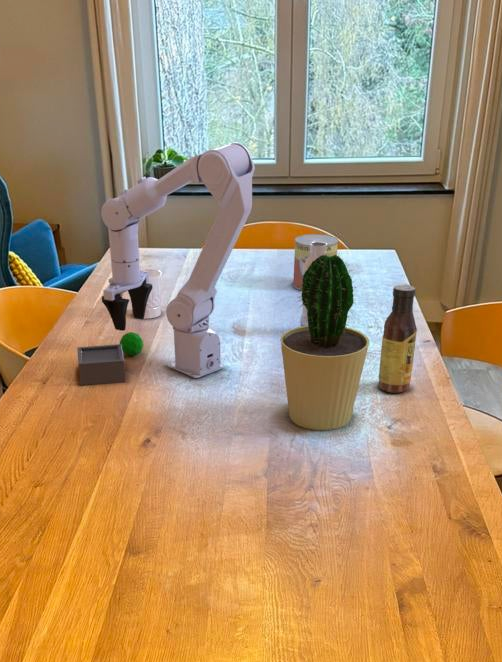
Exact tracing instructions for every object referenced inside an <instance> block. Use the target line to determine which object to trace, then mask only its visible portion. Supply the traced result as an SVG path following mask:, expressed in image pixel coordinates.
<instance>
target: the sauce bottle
mask: <svg viewBox="0 0 502 662" xmlns="http://www.w3.org/2000/svg"><path fill="white" fill-rule="evenodd" d="M416 289H417V288H416V287H415V286H413V285H411V284H409V285H408V284H397V285H395V286H393V288H392V297H393V298H392V306H391V312H390V313H389V315H388V316H387V317H386V319H385V321H384V324H383V335H382V340H381V350H380V360H379V370H378V387H379V389H381V390H382V391H383V392H386V393H392V394H400V393H404V392H406V391H408V390H409V388H410V385H411V380H412V373H413V365H414V359H415V358H414V356H415V349H416V341H417V331H418V328H417V325H416V320H415V315H414V311H413V310H414V308H413V307H414V297H415V296H416Z"/></svg>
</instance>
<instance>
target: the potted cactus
mask: <svg viewBox="0 0 502 662" xmlns="http://www.w3.org/2000/svg"><path fill="white" fill-rule="evenodd" d="M340 252H341V251H339V253H338V254H337V255H336V254H335V255H333V256H330V255H329V256H330V257H329V256H327V255H322V256H321V255H320V256H319V258H317V259H316V260H315V261H313V260H312V263H311V264H310V266H309V265H308V266H309V267H308V266H307V267H308V269H307V270H306V269H305V270H306V271H305V270H304V269H303V268H302V269H303V270H304V271H305V273H303V274H304V275H303V283H302V290H300V289H299V290H298V291H297V292H296V293H298V294H300V295H299V297H298V296H297V299H298V300H296V303H297V302H301V303H302V304H301V305H300V306H299V308H302V307H303V305H305V307H306V309H307V310H306V311H307V316H308V319H307V320H308V326H302V327H301V326H297V327H294V328H291V329H289V330H286V331H285V332H284V333H283V334H281V337H280V347H281V356H282V365H283V374H284V382H285V389H286V390H285V391H286V398H287V399H286V401H287V408H288V409H287V410H288V416H289V419H290V420H291V422H292V423H294V424H295V425H297V426H298V427H301V428H305V429H308V430H313V431H330V430H331V431H332V430H336V429H340V428H342V427H345V426H346V425H347V424H349V422H350V420H351V418H352V415H353V411H354V406H355V403H356V398H357V394H358V391H359V390H358V389H359V385H360V382H361V377H362V375H363V370H364V365H365V362H366V359H367V358H366V357H367V354H368V348H369V346H370V339H369V337H368V336H367V335H366V334H364V333H363V332H362V331H359V330H357V329H354V328H351V327H347V326H349V324H347V321H348V320H349V319H350V318H351V316H348V314H349V313H353V310H351V308H352V307H353V305H357V303H356V302H357V300H356V299H355V298H354V295H355V294H356V293H357V292H359V290H358V289H356V288H357V286H353V283H355V282H356V281H357V279H355V280H352V277H354V274H350V273H351V272H352V271H354V269H351V270H348V268H349V265H347V262H348V260H347V259H346V260H345V261H344V259H345V258H343V257H342V256H341V255H342V254H340ZM314 259H315V257H314ZM309 263H310V262H309ZM301 274H302V273H301ZM298 282H299V281H298ZM300 286H301V285H300ZM296 287H297V286H296ZM299 288H300V287H299ZM354 289H355V290H354ZM356 290H358V291H356ZM355 291H356V292H355ZM355 301H356V302H355ZM304 311H305V310H304ZM305 313H306V312H305ZM304 315H305V314H304ZM304 318H306V317H304ZM303 323H304V322H303Z"/></svg>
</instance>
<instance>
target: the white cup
mask: <svg viewBox="0 0 502 662" xmlns="http://www.w3.org/2000/svg"><path fill="white" fill-rule="evenodd" d="M140 271H145V272H149V281H148V282H146V283H148V284H152V290H151V292H150V295H149V297H148V301H147V305H146V310H145V315H144V319H143V320H149V319H157V318H158V317H160V316H161V315H162V291H163V289H162V284H163V283H162V271H160V270H158V269H154V268H140Z"/></svg>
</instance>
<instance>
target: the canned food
mask: <svg viewBox="0 0 502 662" xmlns="http://www.w3.org/2000/svg"><path fill="white" fill-rule="evenodd" d="M313 242H324V243H326V244H327V253H326V254H325V255H327V256H329V255H330V256H333V255H335V254H336V255H337V256H338V250H339V249H338V247H339V245H338V244H339V242H340V241H339V238H338V237H336V236H333V235H330V234H321V233H310V234H301V235H298V236H295V238H294V256H293V257H294V258H293V282H292V287H293V288H294V289H296V290H298V291H301V290H302V283H303V269H302V268H303V266H304V264H305V262H306V260H307V259H308V258H309V256H310V255H311V253H310V252H309V251H310V244H311V243H313ZM330 256H329V257H330ZM301 273H302V274H301ZM298 281H299V282H298ZM300 285H301V286H300ZM296 286H297V287H296ZM299 287H300V288H299ZM299 289H300V290H299Z"/></svg>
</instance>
